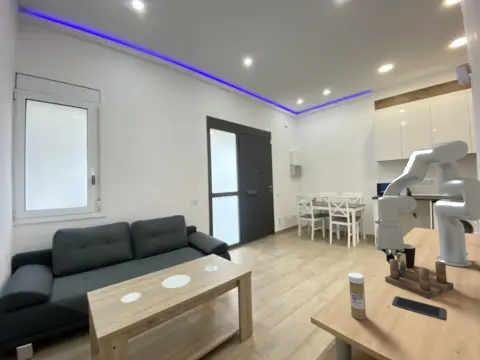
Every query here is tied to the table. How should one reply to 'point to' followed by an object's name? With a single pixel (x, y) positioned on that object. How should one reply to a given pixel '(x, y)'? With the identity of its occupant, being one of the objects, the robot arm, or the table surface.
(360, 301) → the sprinkles bottle
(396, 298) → the cell phone
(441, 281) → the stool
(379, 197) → the robot arm
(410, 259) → the coffee mug
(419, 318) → the table surface
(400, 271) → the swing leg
